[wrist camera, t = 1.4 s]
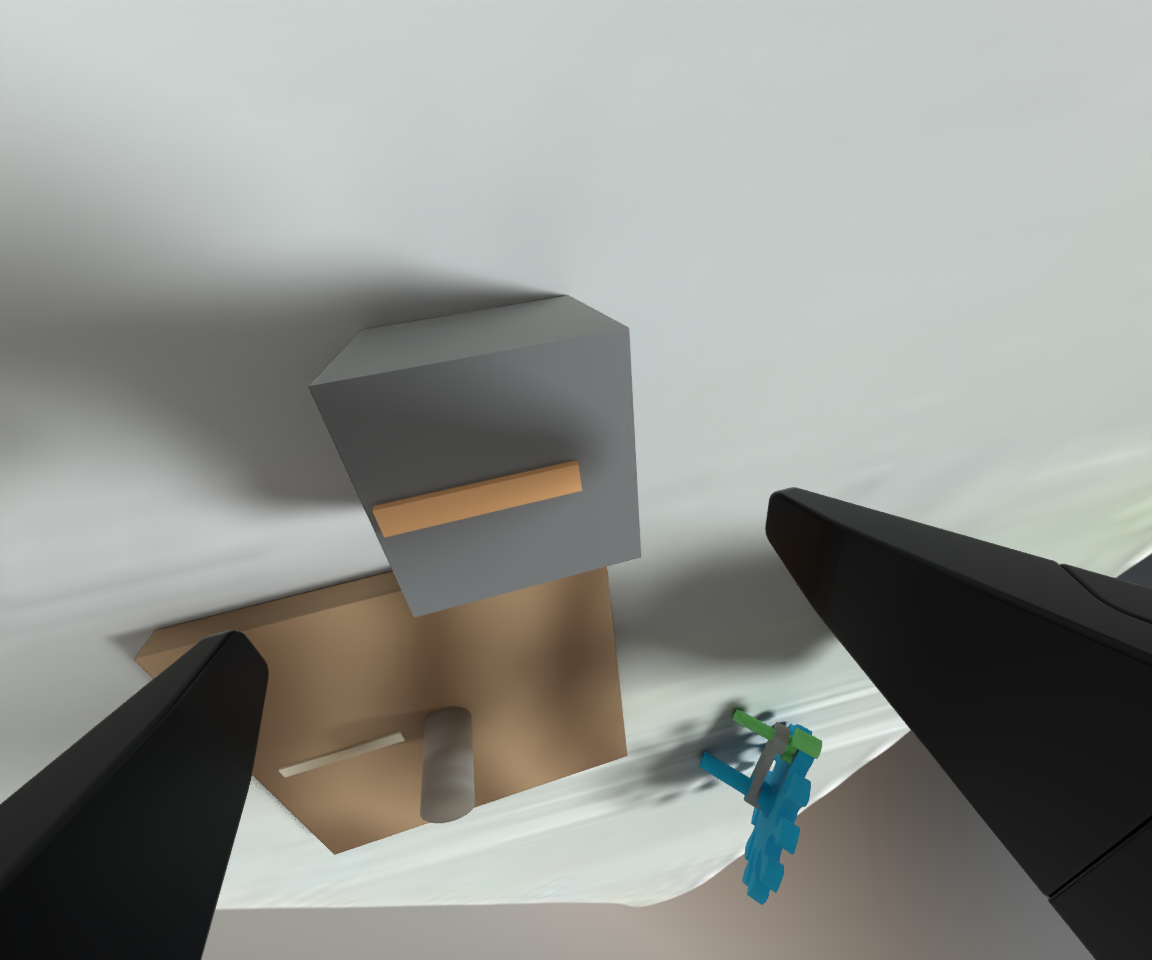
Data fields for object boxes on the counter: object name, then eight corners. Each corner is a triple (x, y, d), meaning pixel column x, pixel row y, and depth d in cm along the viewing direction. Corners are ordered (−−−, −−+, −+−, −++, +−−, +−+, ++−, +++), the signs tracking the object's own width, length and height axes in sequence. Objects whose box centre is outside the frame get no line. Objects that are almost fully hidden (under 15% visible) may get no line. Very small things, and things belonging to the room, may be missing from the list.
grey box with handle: (568, 295, 13) (632, 329, 8) (588, 467, 16) (643, 562, 11) (361, 329, 12) (305, 389, 7) (425, 504, 15) (413, 623, 11)
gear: (772, 804, 33) (758, 953, 24) (696, 758, 35) (659, 879, 26) (830, 690, 29) (838, 816, 21) (742, 648, 32) (716, 744, 23)
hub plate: (595, 520, 17) (637, 605, 13) (620, 735, 26) (651, 826, 22) (154, 630, 15) (48, 772, 11) (339, 827, 23) (316, 949, 19)
